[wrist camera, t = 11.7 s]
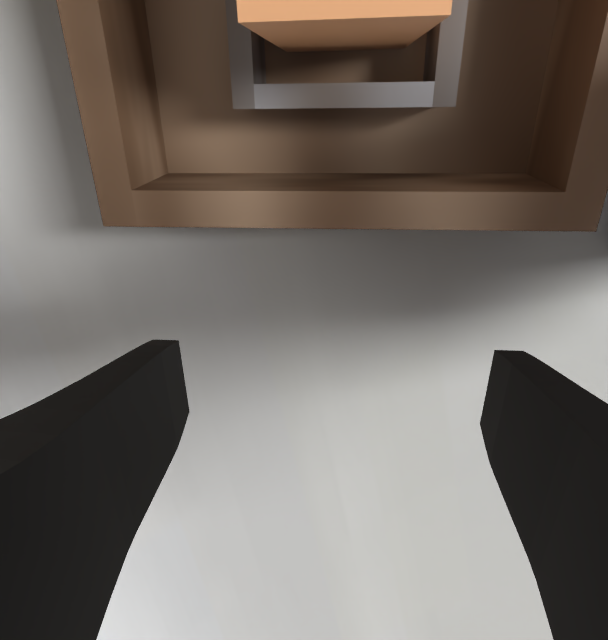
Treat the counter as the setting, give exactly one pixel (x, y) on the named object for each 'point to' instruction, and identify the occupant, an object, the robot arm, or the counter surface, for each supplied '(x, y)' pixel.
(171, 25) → the walled box
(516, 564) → the counter surface
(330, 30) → the peach plain square-edged block
